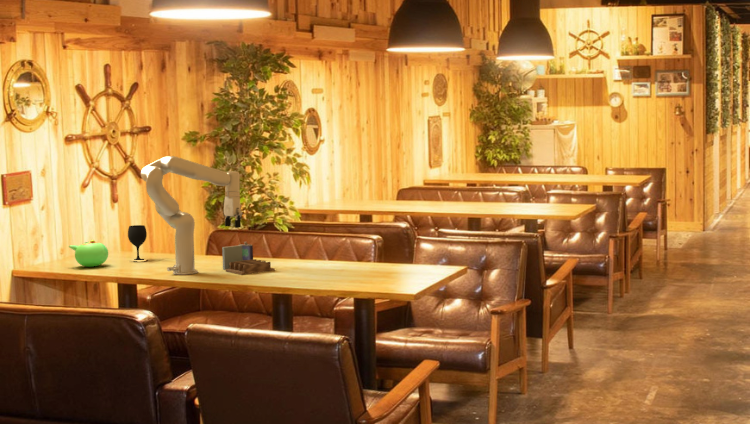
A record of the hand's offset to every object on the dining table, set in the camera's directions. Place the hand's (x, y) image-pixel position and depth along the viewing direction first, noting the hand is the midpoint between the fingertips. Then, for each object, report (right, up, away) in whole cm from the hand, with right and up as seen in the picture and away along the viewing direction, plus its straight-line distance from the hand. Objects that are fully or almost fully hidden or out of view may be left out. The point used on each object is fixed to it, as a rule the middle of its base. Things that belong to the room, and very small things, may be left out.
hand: (232, 226), depth 506 cm
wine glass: (-59, -20, +37) cm, 73 cm away
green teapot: (-80, -22, +16) cm, 85 cm away
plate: (0, -22, +1) cm, 22 cm away
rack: (+10, -23, -8) cm, 26 cm away
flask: (+3, -20, +32) cm, 38 cm away
